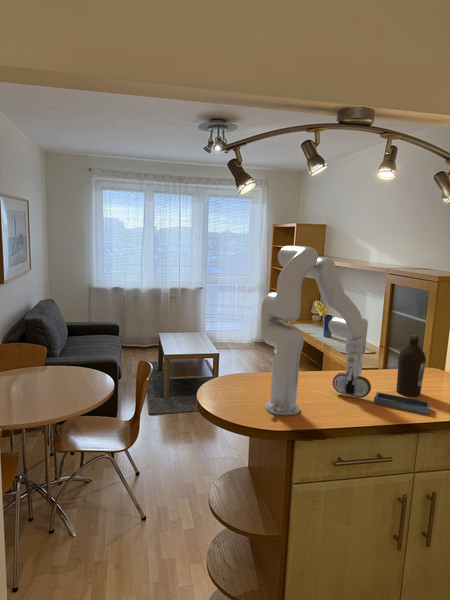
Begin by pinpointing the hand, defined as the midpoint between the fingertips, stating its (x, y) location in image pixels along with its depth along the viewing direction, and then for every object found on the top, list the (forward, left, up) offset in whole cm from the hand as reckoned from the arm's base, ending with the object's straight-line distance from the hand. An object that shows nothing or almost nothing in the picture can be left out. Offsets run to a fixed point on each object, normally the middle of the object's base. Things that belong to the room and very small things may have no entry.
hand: (350, 392), depth 174 cm
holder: (+2, -19, -2) cm, 20 cm away
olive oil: (+20, -20, -2) cm, 28 cm away
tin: (0, 0, -1) cm, 2 cm away
